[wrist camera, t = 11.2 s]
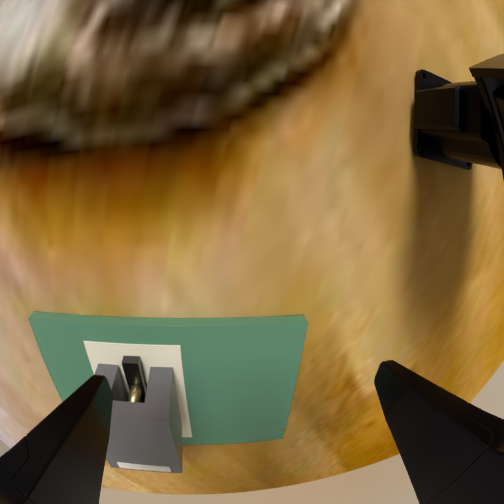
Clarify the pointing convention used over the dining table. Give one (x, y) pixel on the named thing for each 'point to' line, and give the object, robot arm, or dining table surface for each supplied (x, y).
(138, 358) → the header pins
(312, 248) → the dining table surface
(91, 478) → the robot arm
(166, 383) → the block
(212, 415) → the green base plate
